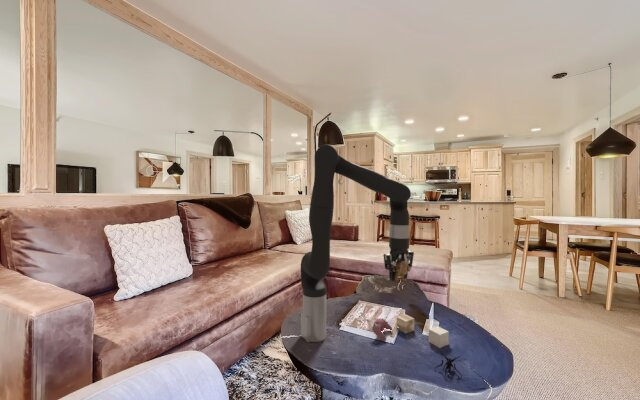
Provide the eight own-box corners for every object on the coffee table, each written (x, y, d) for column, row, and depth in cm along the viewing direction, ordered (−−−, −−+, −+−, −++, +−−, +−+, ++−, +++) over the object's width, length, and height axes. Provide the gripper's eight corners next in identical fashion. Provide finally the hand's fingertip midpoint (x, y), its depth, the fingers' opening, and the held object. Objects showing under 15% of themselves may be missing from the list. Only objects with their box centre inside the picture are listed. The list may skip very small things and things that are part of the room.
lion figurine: (412, 286, 107) (413, 261, 107) (399, 286, 106) (399, 262, 106) (395, 274, 122) (395, 253, 121) (383, 275, 121) (383, 253, 121)
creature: (460, 387, 87) (463, 367, 94) (460, 372, 86) (463, 353, 92) (433, 378, 91) (437, 360, 98) (432, 363, 90) (437, 346, 96)
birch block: (405, 333, 117) (405, 321, 117) (396, 328, 122) (396, 316, 121) (414, 330, 120) (414, 318, 119) (405, 325, 124) (405, 314, 124)
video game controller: (384, 333, 120) (377, 316, 122) (393, 330, 118) (386, 313, 120) (376, 343, 112) (368, 326, 113) (386, 341, 110) (378, 323, 111)
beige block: (439, 348, 106) (439, 334, 106) (428, 341, 111) (428, 329, 111) (448, 344, 109) (448, 331, 109) (437, 338, 113) (437, 326, 113)
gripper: (392, 239, 105) (391, 285, 106) (419, 236, 112) (419, 279, 113) (378, 236, 112) (377, 279, 112) (405, 233, 119) (404, 274, 119)
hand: (398, 279), depth 112 cm, fingers closed on lion figurine, 5 cm apart
